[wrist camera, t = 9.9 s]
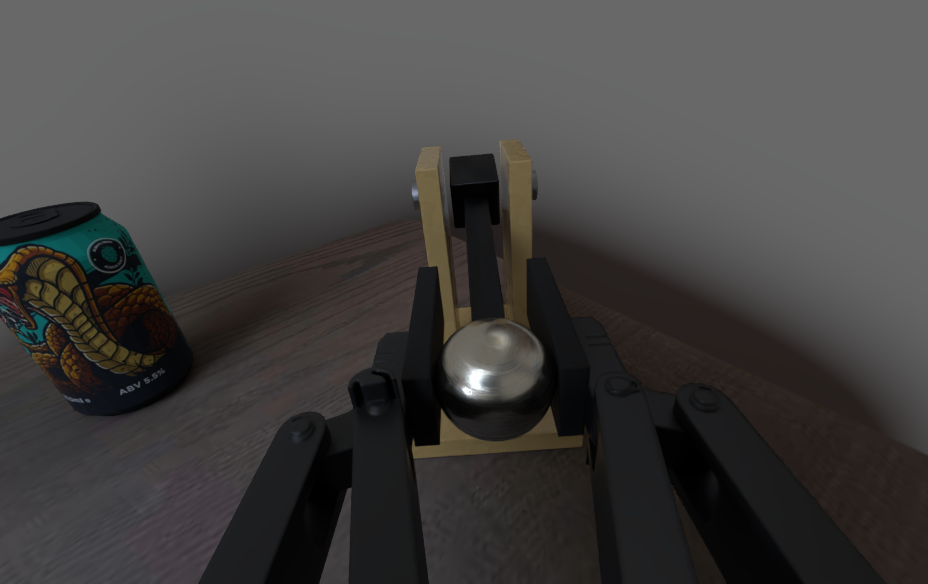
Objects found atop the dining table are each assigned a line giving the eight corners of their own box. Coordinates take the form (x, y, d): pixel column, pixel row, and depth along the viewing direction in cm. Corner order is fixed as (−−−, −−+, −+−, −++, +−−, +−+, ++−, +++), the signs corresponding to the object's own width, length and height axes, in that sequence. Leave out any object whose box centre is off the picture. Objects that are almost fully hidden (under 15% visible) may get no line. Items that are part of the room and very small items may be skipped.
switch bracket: (582, 447, 21) (608, 181, 14) (408, 459, 22) (348, 204, 15) (541, 315, 32) (544, 122, 25) (423, 324, 32) (392, 136, 25)
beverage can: (88, 442, 24) (-63, 261, 18) (69, 389, 29) (-58, 228, 23) (212, 376, 29) (124, 210, 22) (180, 339, 33) (98, 190, 27)
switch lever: (562, 459, 12) (574, 390, 10) (440, 467, 12) (423, 402, 10) (507, 204, 23) (507, 139, 20) (442, 209, 23) (433, 146, 20)
